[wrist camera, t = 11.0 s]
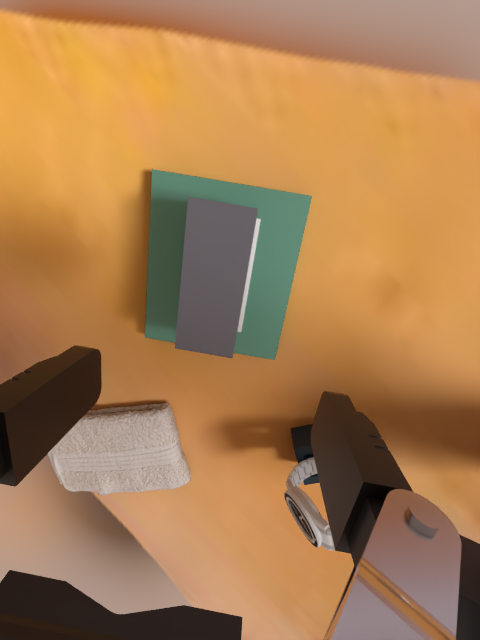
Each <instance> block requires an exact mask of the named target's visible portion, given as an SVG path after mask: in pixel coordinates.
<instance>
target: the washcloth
mask: <svg viewBox="0 0 480 640" xmlns="http://www.w3.org/2000/svg"><path fill="white" fill-rule="evenodd" d="M48 456H49V458H50V461H51V464H52V466H53V469H54V471H55V473H56V475H57V476H58V478H59V481H60V484H63V485H64V487H65V488H66V489H67V490H69V491H93V492H98V494H99V495H107V494H110V493H117V492H138V491H148V490H158V489H175V488H177V487H180V486H182V485H185V484H187V483H188V482H189V480H190V479H191V475H190V470H189V466H188V463H187V460H186V457H185V455H184V453H183V452H182V450H181V445H180V441H179V432H178V429H177V426H176V421H175V417H174V416H173V412H172V410H171V407H170V405H169V404H168V402H167V403H160V404H149V405H145V404H144V405H138V406H132V407H130V406H128V407H127V406H125V407H114V408H113V407H111V408H105V409H97V410H89V411H88V412H87V413H86V414H85V415H84V416H83V417H82V418H81V419H80V420H79V421H78V422H77V423H76V425H75V426H74V427H73V428H72V429H71V430H70V431H69V432H68V433H67V434H66V435H65V436H64V437H63V438H62V439H61V440H60V441H59V442H58V443H57V444H56V445H55V446H54V447H53V448H52V449H51V450H50V452H49V453H48Z"/></svg>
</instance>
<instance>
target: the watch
mask: <svg viewBox="0 0 480 640" xmlns="http://www.w3.org/2000/svg"><path fill="white" fill-rule="evenodd" d="M312 426H313V424H312V425H307V426H301V427H296V428H291V433H292V439H293V445H294V450H295V453H296V457H297V460H298V464H297V465H296V466H295V467H294V468H293V469H292V471H291V472H290V474H289V476H288V478H287V481H286V486H287V489H288V491H286V492H285V493H284V495H285V500H286V503H287V505H288V507H289V509H290V512H291V513H292V515H293V517H294V519H295V521H296V522H297V524H298V526H299V527H300V529H301V530H302V532H303V533H304V535H305V536H306V537H307V539H308V540H309V541H310V542H311V543H312V544H313V545H314V546H315V547H317V548H318V547H320V545H321V546H322V547H324V548H326V549H328V550H330V551H332V550H335V548H334V543H333V539H332V534H331V530H330V528H328V527H329V524H328V523H327V521H325V520H324V519H323V518H322V516H321V514H320V513H319V511H318V509H317V508H316V506H315V504H314V503H313V502H312V500H311V499H310V498H309V496H308V495H307V494H306V493H305V492H304V491H303V490H302V489H300V488H299V485H300V484H301V483H302V482H303V481H304V485H307V484H314V483H320V482H319V477H318V473H317V469H316V464H315V460H314V455H313V451H312V447H311V430H312Z"/></svg>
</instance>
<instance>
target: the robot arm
mask: <svg viewBox="0 0 480 640" xmlns="http://www.w3.org/2000/svg"><path fill="white" fill-rule="evenodd" d="M100 393H101V353H100V351H99V350H98V349H93V348H88V347H82V346H73V347H71V348H70V349H68V350H66V351H65V352H63V353H61V354H60V355H58V356H56V357H53V358H50V359H47V360H44V361H41V362H38V363H36V364H35V365H33V366H31V367H30V368H28V369H26V370H25V371H24V373H23V372H21V373H19V374H18V375H16V376H14V377H13V378H12V380H10V379H9V380H8V381H6V382H4V383H2V384H1V385H0V484H5V485H10V486H17V485H18V484H19V483H20V482H21V481H22V480H23V478H24V477H25V476H26V475H27V474H28V473H29V472H30V471H31V470H32V469H33V468H34V467H35V466H36V465H37V464H38V463H39V462H40V461H41V460H42V459H43V458H44V457H45V456H46V455H47V454H48V453H49V452H50V450H51V449H52V448H53V447H54V446H55V445H56V444H57V443H58V442H59V441H60V440H61V439H62V438H63V437H64V436H65V435H66V434H67V433H68V432H69V431H70V430H71V429H72V428H73V427H74V426H75V425H76V423H77V422H78V421H79V420H80V419H81V418H82V417H83V416H84V415H85V414H86V413H87V412H88V411H89V410H90V409H91V408H92V407H93V406H94V405H95V403H96V402H97V400H98V398H99V396H100ZM311 447H312V451H313V455H314V460H315V464H316V469H317V473H318V477H319V482H320V486H321V491H322V495H323V499H324V504H325V508H326V512H327V517H328V521H329V526H330V530H331V534H332V539H333V543H334V548H335V550H336V551H341V552H346V553H351V555H352V558H353V562H354V568H353V570H352V572H351V574H350V577H349V579H348V581H347V584H346V586H345V589H344V591H343V593H342V596H341V598H340V601H339V603H338V605H337V608H336V610H335V613H334V615H333V617H332V620H331V622H330V624H329V627H328V629H327V632H326V634H325V636H324V639H323V640H480V544H478V543H476V542H474V541H472V540H470V539H468V538H465V537H463V536H461V535H459V534H458V531H457V529H456V528H455V526H454V525H453V523H452V522H451V521H450V519H449V518H448V517H447V516H446V515H445V514H444V513H443V512H442V511H441V510H440V509H439V508H438V507H437V506H436V505H434V504H433V503H432V502H430V501H429V500H427V499H426V498H424V497H423V496H421V495H419V494H417V493H414V492H413V491H412V489H411V487H410V485H409V484H408V482H407V480H406V479H405V477H404V475H403V473H402V472H401V470H400V468H399V466H398V465H397V463H396V461H395V459H394V458H393V456H392V454H391V453H390V451H388V447H387V446H386V444H385V442H384V440H382V439H381V435H380V434H379V432H378V430H377V428H376V427H375V425H374V424H373V423H372V422H371V421H370V420H369V419H368V418H367V417H366V416H365V415H364V414H363V413H361V412H356V410H355V408H354V406H353V404H352V402H351V400H350V398H349V397H348V396H347V395H344V394H339V393H333V392H328V391H325V392H323V394H322V396H321V399H320V403H319V406H318V409H317V412H316V416H315V419H314V422H313V426H312V430H311ZM241 631H242V617H239V616H234V615H229V614H224V613H219V612H214V611H209V610H204V609H199V608H195V607H190V606H177V607H170V608H164V609H157V610H150V611H143V612H137V613H129V614H115V613H113V612H111V611H109V610H107V609H106V608H105V607H103V606H102V605H100V604H99V603H97V602H95V601H94V600H93V599H91V598H90V597H88V596H86V595H85V594H84V593H82V592H81V591H79V590H78V589H76V588H75V587H73V586H72V585H70V584H69V583H67V582H66V581H61V580H56V579H51V578H46V577H41V576H36V575H32V574H27V573H22V572H17V571H12V570H10V571H9V572H8V573H7V574H6V576H5V577H4V579H3V580H2V581H1V583H0V640H241Z"/></svg>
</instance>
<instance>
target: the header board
mask: <svg viewBox="0 0 480 640" xmlns="http://www.w3.org/2000/svg"><path fill="white" fill-rule="evenodd" d="M188 197H194V198H200V199H205V200H211V201H217V202H223V203H229V204H235V205H240V206H246V207H252V208H258V214H257V220H256V226H255V232H254V238H253V243H252V249H251V255H250V261H249V267H248V273H247V279H246V284H245V290H244V296H243V302H242V308H241V314H240V320H239V325H238V331H237V337H236V342H235V347H234V352H233V353H238V354H244V355H249V356H255V357H261V358H267V359H273V360H275V357H276V352H277V348H278V344H279V339H280V335H281V330H282V326H283V322H284V317H285V313H286V308H287V304H288V299H289V295H290V291H291V286H292V282H293V277H294V273H295V269H296V264H297V260H298V255H299V251H300V247H301V242H302V238H303V233H304V229H305V225H306V220H307V216H308V211H309V207H310V202H311V198H312V196H308V195H303V194H297V193H291V192H285V191H279V190H273V189H267V188H261V187H255V186H249V185H243V184H237V183H231V182H225V181H219V180H213V179H207V178H201V177H195V176H189V175H183V174H177V173H171V172H165V171H159V170H153V169H152V183H151V206H150V229H149V252H148V275H147V298H146V321H145V338H151V339H157V340H162V341H168V342H174V343H175V341H176V329H177V318H178V307H179V295H180V284H181V273H182V261H183V250H184V239H185V228H186V216H187V205H188Z"/></svg>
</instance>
